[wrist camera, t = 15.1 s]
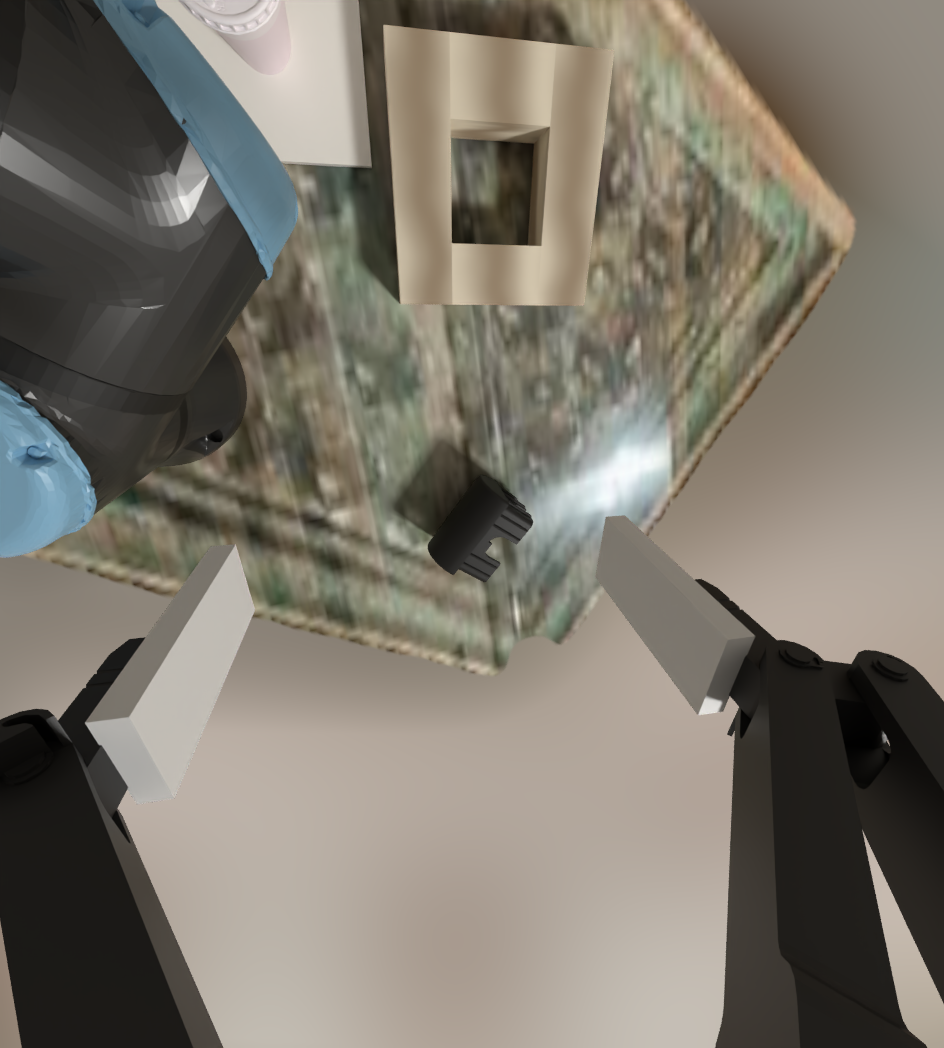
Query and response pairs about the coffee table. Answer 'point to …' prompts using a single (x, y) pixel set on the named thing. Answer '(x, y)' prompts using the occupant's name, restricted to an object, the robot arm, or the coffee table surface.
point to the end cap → (478, 529)
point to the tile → (300, 83)
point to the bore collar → (497, 115)
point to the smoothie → (249, 29)
